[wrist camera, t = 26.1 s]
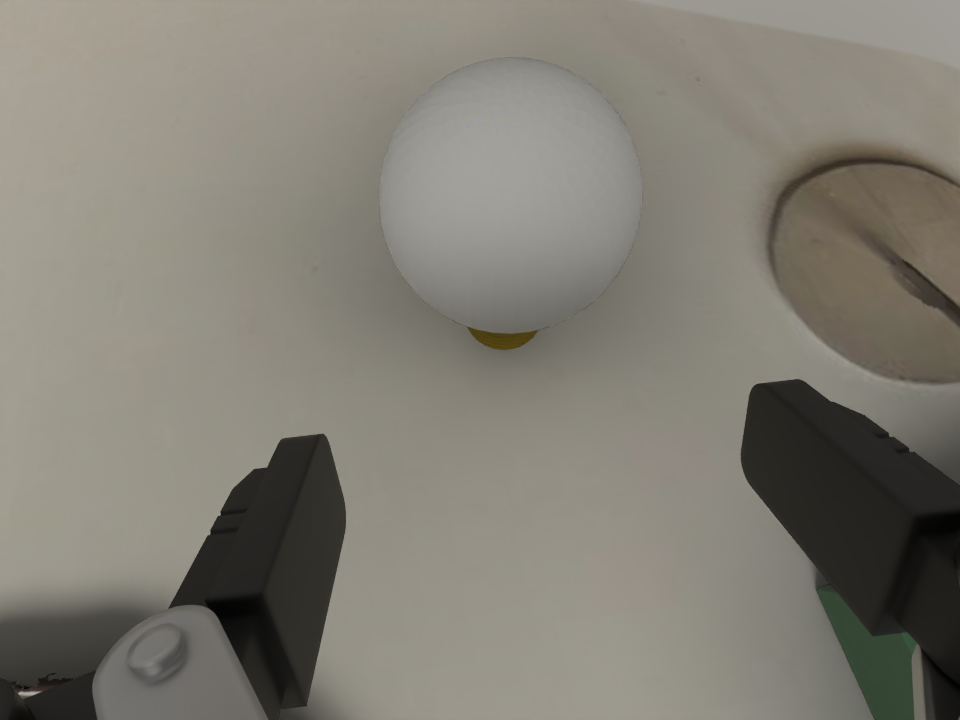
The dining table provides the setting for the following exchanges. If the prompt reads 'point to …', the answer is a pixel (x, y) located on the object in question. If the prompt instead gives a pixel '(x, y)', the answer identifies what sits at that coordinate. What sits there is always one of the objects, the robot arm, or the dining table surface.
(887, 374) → the dining table surface
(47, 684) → the food plate
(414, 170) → the light bulb
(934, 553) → the robot arm
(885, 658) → the block
